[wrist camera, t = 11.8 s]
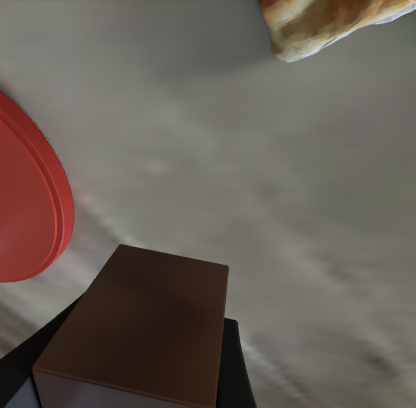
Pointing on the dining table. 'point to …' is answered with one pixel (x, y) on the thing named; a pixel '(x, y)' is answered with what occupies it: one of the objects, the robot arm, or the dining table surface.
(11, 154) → the red lid
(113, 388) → the walnut block
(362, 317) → the dining table surface
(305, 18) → the pastry
